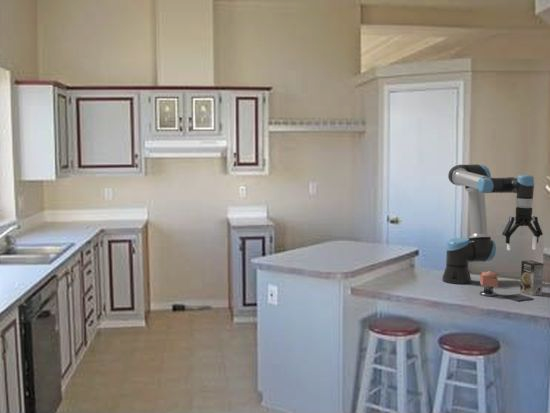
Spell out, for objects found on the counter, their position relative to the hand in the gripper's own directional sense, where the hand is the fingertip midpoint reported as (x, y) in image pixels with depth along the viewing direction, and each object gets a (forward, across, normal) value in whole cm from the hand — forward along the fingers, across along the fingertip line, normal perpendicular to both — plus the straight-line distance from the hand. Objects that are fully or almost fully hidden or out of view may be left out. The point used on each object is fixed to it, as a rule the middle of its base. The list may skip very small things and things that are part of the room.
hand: (521, 249), depth 315 cm
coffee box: (+24, +11, +7) cm, 27 cm away
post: (+24, -12, +7) cm, 28 cm away
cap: (+19, -12, +7) cm, 24 cm away
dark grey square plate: (+24, -1, -2) cm, 24 cm away
